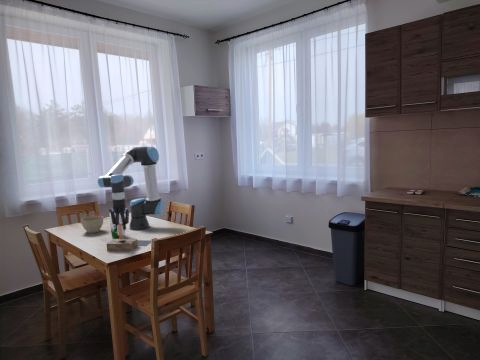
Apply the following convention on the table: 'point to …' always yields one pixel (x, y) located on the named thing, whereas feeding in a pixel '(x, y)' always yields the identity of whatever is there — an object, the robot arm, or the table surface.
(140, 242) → the mat
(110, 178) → the robot arm
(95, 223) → the planter bowl
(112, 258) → the table surface
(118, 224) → the peg
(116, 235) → the milk carton
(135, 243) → the hole block
